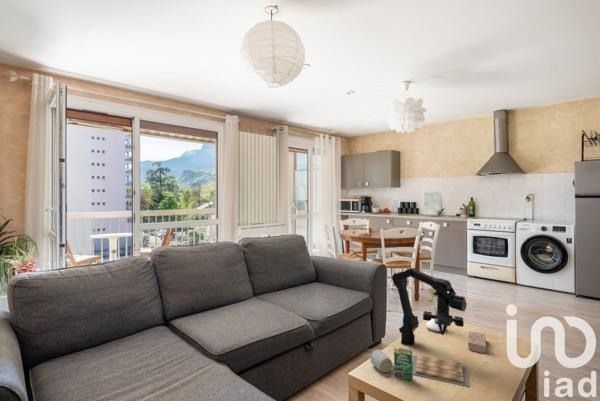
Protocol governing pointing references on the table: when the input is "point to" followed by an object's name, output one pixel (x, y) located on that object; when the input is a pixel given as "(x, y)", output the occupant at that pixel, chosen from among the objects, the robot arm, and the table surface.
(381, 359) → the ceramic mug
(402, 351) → the coffee box
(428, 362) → the click plank
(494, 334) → the table surface
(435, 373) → the laid board
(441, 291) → the robot arm
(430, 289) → the flower in vase
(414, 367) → the underlay
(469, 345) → the brick
